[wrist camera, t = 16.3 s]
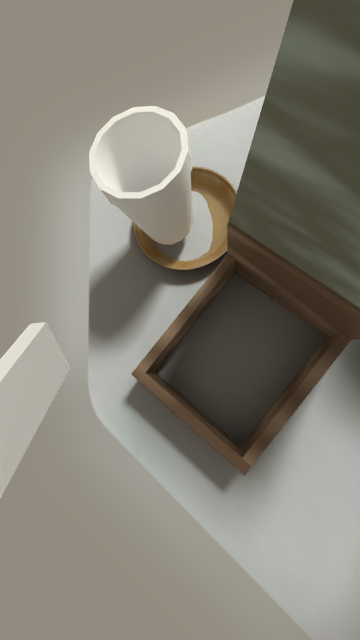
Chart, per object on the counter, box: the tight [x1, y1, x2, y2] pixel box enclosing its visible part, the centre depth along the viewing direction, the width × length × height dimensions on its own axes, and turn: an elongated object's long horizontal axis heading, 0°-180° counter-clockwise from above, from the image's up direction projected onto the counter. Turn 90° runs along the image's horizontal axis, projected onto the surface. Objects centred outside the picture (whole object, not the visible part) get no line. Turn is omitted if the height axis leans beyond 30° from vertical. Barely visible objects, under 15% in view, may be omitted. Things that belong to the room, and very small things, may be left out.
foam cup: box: [89, 106, 193, 245], centre depth 32 cm, size 10×9×13 cm
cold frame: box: [132, 0, 360, 475], centre depth 23 cm, size 25×16×27 cm, turn 141°
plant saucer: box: [133, 167, 237, 270], centre depth 40 cm, size 15×15×3 cm
